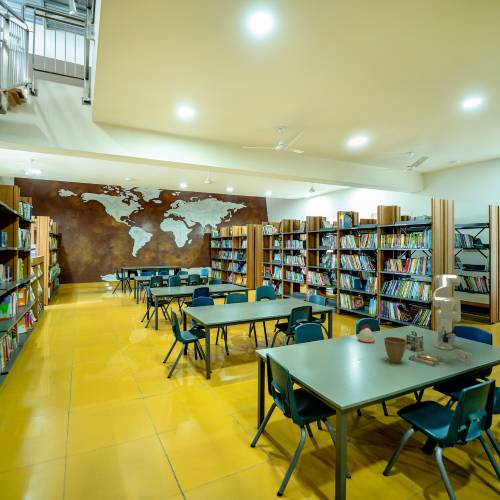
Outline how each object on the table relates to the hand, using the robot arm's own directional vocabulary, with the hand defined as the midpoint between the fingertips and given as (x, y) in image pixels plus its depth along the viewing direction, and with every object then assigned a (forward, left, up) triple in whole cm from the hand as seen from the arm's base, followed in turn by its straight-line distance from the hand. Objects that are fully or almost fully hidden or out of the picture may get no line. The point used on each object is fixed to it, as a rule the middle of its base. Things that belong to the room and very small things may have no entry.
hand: (446, 341), depth 227 cm
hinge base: (+5, -11, -15) cm, 20 cm away
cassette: (-12, +7, -16) cm, 21 cm away
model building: (-12, -28, -16) cm, 34 cm away
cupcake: (-1, -65, -16) cm, 67 cm away
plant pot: (+26, -24, -16) cm, 39 cm away
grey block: (0, 0, -1) cm, 1 cm away
